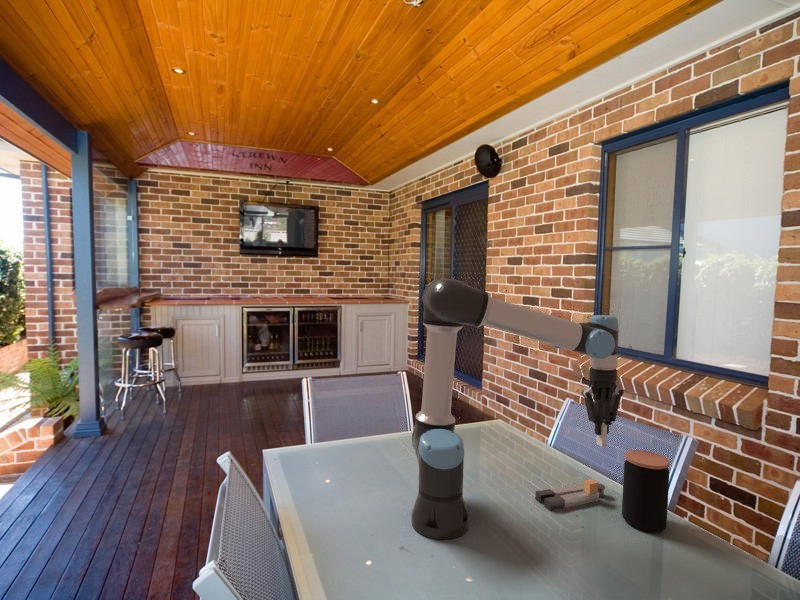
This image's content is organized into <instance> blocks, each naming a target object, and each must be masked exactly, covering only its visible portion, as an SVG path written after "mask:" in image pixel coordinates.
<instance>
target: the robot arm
mask: <svg viewBox="0 0 800 600" xmlns="http://www.w3.org/2000/svg"><path fill="white" fill-rule="evenodd" d="M421 297H422V300H421V301H422V304H423V305H422V306H423V314H422V316H423V317H422V325H423V326H424V327H425V328H426V330H427V331H426V344H425V345H426V347H425V356H424V357H425V358H424V359H425V360H424V369H423V371H424V372H423V383H422V384H423V386H422V397H421V398H422V399H421V408H420V409H421V410H420V411H418V412H417V413H416V414H415V421H414V428H413V430H412V433H411V443H412V447H413V450H414V452H415V457H416V459H417V463H418V493H417V497H416V499H415V502H414V505H413V508H412V510H411V511H412V512H411V516H410V517H411V526H412V528H413V529H414V530H415V531H416V532H417V533H418V534H420V535H422V536H424V537H426V536H427V537H426V538H429V539H430V538H431V539H434V538H435V540H451V539H455V538H459V537H461V536H463V535H465V533H466V532H467V531H468V529H469V525H470V524H469V523H470V516H469V514H468V512H469V511H468V509H467V506H466V503H465V500H464V496H463V495H464V493H463V492H464V461H465V460H464V457H465V447H464V446H465V445H464V441H463V439H462V437H461V436H460V435H459V434H458V433H456V432H455V427H456V417H454V415H452V413H451V411H452V399H453V387H454V377H455V374H454V373H455V361H456V349H457V338H458V337H457V336H458V332H459V331H460V330H461V329H462V328H464V327H463V326H464V325H466V326H469V327H470V326H471V327H473V328H479V327H482V326H485V327H489V328H492V329H494V330H499V331H502V332H506V333H510V334H512V335H516V336H519V337H524V338H527V339H530V340H533V341H538V342H541V343H543V344H544V343H545V344H548V345H551V346H552V347H553V348H555V349H562V350H569V351H573V352H574V353H580V354H582V355H585V356H588V357H589V365H590V367H589V373H588V374H589V375H588V376H589V377H588V378H589V381H590V383H589V384H588V388H587V389H586V390H582V391H581V395H582V396H583V398H584V402H585V408H586V412H587V413H586V414H587V419H588V421H590V422H591V423H592V424H593V423H594V434H595V435H596V436H595V437H596V439H595V440H596V442H595V443H596V445H598V446H599V447H602V448H604V447H606V448H607V443H608V441H607V440H608V439H607V438H608V437H607V436H608V435H609V433H610V431H609V430H610V426H612V424H613V423H615V422H616V420H617V414H618V410H619V406H620V403H621V402H620V401H621V398H622V396H623V395H624V393H625V392H624V389H620V388H619V387H617V380H618V369H617V368H618V364H619V363H618V360H619V359H618V357H619V356H618V350H619V349H618V348H619V332H620V330H619V322H618V321H619V320H618V318H617V317H616V316H614V315H608V314H596V315H591V316H590V320H589V321H588V322H576V321H572V320H569V319H566V318H562V317H560V316H556V315H552V314H548V313H546V312H542V311H538V310H535V309H531V308H529V307H526V306H521V305H519V304H515V303H511V302H508V301H505V300H501V299H497V298H495V297H491V295H490V293H489V292H487V291H483V290H481V289H478V288H475V287H473V286H471V285H468V284H466V283H465V282H463V281H460V280H457V279H454V278H448V277H442V278H436V279H434V280H432V281H431V282H429V284H427V286H426V287H425V288H424V290H423V293H422V296H421ZM612 422H613V423H612Z"/></svg>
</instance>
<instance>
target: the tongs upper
mask: <svg viewBox="0 0 800 600" xmlns="http://www.w3.org/2000/svg"><path fill="white" fill-rule="evenodd" d="M581 491H584V484H578V485H572V486H566V487H565V486H564V487H559V488H551V489H550V488H548V489H543V490H536V491H535V500H536V501H537V503H539V504H540V505H541V504H545V498H549V497H554V496H561V495H566V494H571V493H576V492H581Z"/></svg>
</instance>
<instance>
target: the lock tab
mask: <svg viewBox="0 0 800 600" xmlns="http://www.w3.org/2000/svg"><path fill="white" fill-rule="evenodd" d="M598 483H599V482H598V481H596V480H594V479H593V478H592V479H585V480H583V485H584V491H585V492H587V493H588V494H593V493H598Z"/></svg>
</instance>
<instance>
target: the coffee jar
mask: <svg viewBox="0 0 800 600" xmlns="http://www.w3.org/2000/svg"><path fill="white" fill-rule="evenodd" d="M624 458H625V461H624V463H623V480H622V481H623V482H622V483H623V484H622V502H621V504H622V505H621V515H622V518H623V520H624V521H625V523H626V524H627V525H629V526H630V527H632V528H634V529H635V530H639V531H642V532H645V533H650V534H651V533H652V534H653V533H655V534H656V533H661V532H663V530H664V529H666V528H667V523H668V509H669V507H668V506H669V505H668V504H669V487H670V469H669V467H670V463H671V461H670V460H669V459H668V458H667V457H666V456H664V455H661V454H660V453H656V452H653V451H648V450H643V449H642V450H641V449H629V450H627V451H625V452H624Z"/></svg>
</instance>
